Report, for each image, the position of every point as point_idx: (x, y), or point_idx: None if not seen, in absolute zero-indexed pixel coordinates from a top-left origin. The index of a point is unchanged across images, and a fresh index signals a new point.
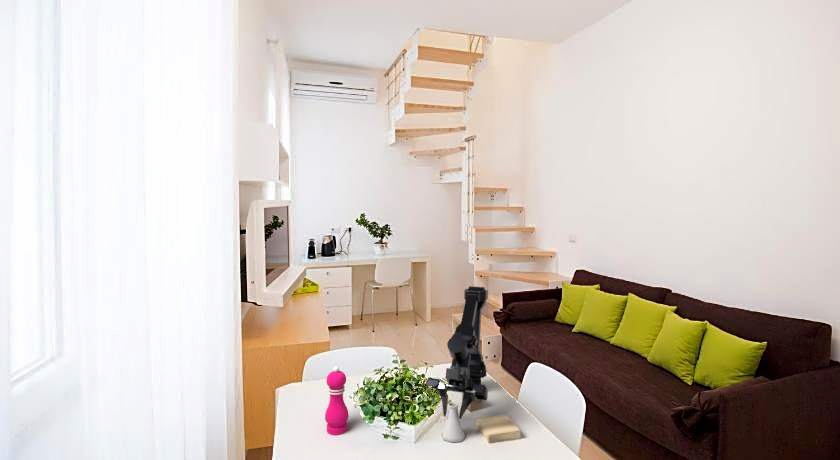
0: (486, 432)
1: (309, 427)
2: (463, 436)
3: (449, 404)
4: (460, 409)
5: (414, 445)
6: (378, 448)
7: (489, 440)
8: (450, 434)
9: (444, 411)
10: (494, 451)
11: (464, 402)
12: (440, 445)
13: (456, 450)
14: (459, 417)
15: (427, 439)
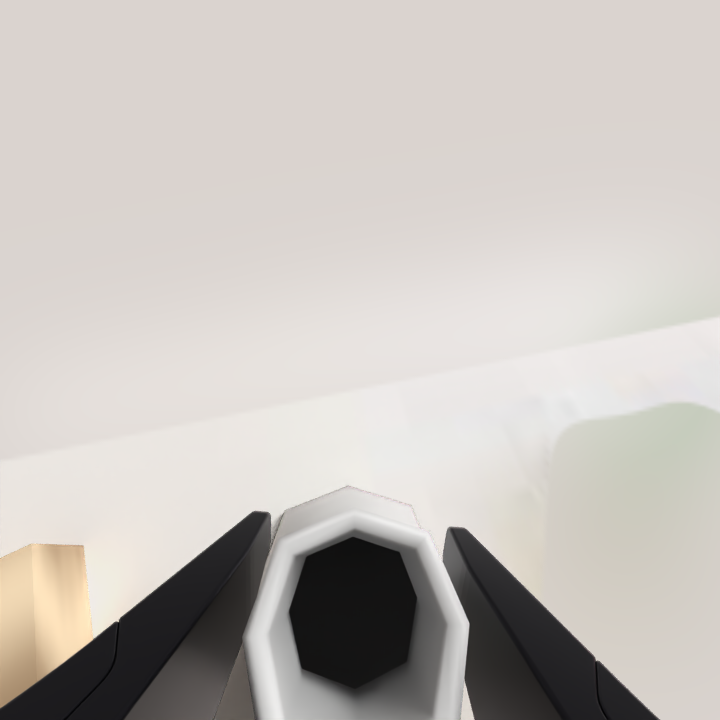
0: (42, 607)
1: None
2: (266, 562)
3: (437, 643)
4: (225, 573)
5: (549, 413)
6: (693, 353)
7: (64, 545)
8: (361, 497)
9: (474, 554)
10: (77, 455)
11: (63, 703)
12: (410, 445)
13: (311, 417)
14: (264, 513)
15: (509, 493)
